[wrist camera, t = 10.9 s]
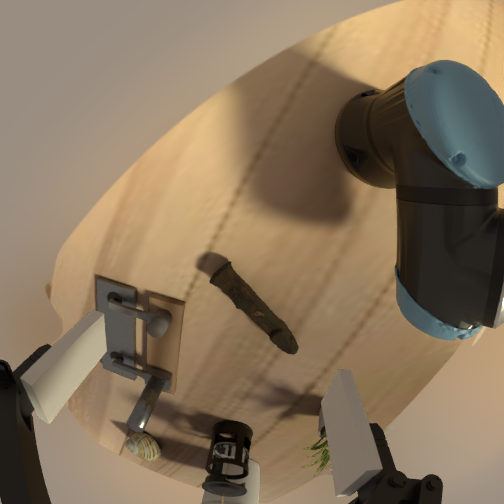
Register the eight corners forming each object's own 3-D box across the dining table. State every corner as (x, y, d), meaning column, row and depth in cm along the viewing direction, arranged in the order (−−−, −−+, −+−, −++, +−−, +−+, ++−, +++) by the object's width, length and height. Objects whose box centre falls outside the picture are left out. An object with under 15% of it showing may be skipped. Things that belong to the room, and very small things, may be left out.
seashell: (159, 456, 59) (136, 471, 50) (139, 431, 62) (115, 443, 53) (175, 449, 56) (150, 466, 47) (153, 422, 59) (127, 436, 50)
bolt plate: (137, 288, 44) (134, 291, 43) (136, 377, 50) (134, 380, 49) (100, 276, 44) (96, 279, 43) (105, 364, 50) (102, 368, 49)
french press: (226, 413, 52) (210, 502, 30) (262, 428, 53) (258, 513, 31) (203, 435, 55) (184, 511, 33) (236, 448, 56) (226, 522, 34)
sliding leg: (172, 373, 47) (148, 427, 33) (172, 383, 48) (149, 436, 34) (113, 352, 47) (78, 397, 33) (113, 363, 48) (81, 408, 34)
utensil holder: (207, 471, 61) (198, 516, 44) (210, 449, 57) (199, 502, 40) (256, 478, 61) (253, 523, 44) (265, 457, 57) (263, 510, 40)
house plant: (280, 406, 50) (282, 469, 34) (338, 375, 47) (357, 439, 31) (315, 433, 53) (322, 488, 37) (366, 407, 50) (385, 462, 34)
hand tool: (211, 272, 43) (204, 284, 38) (230, 257, 42) (225, 267, 38) (283, 350, 46) (284, 366, 42) (302, 339, 45) (304, 355, 41)
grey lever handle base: (185, 302, 44) (174, 319, 39) (175, 390, 50) (167, 409, 45) (115, 281, 44) (98, 295, 38) (118, 370, 50) (106, 387, 45)
